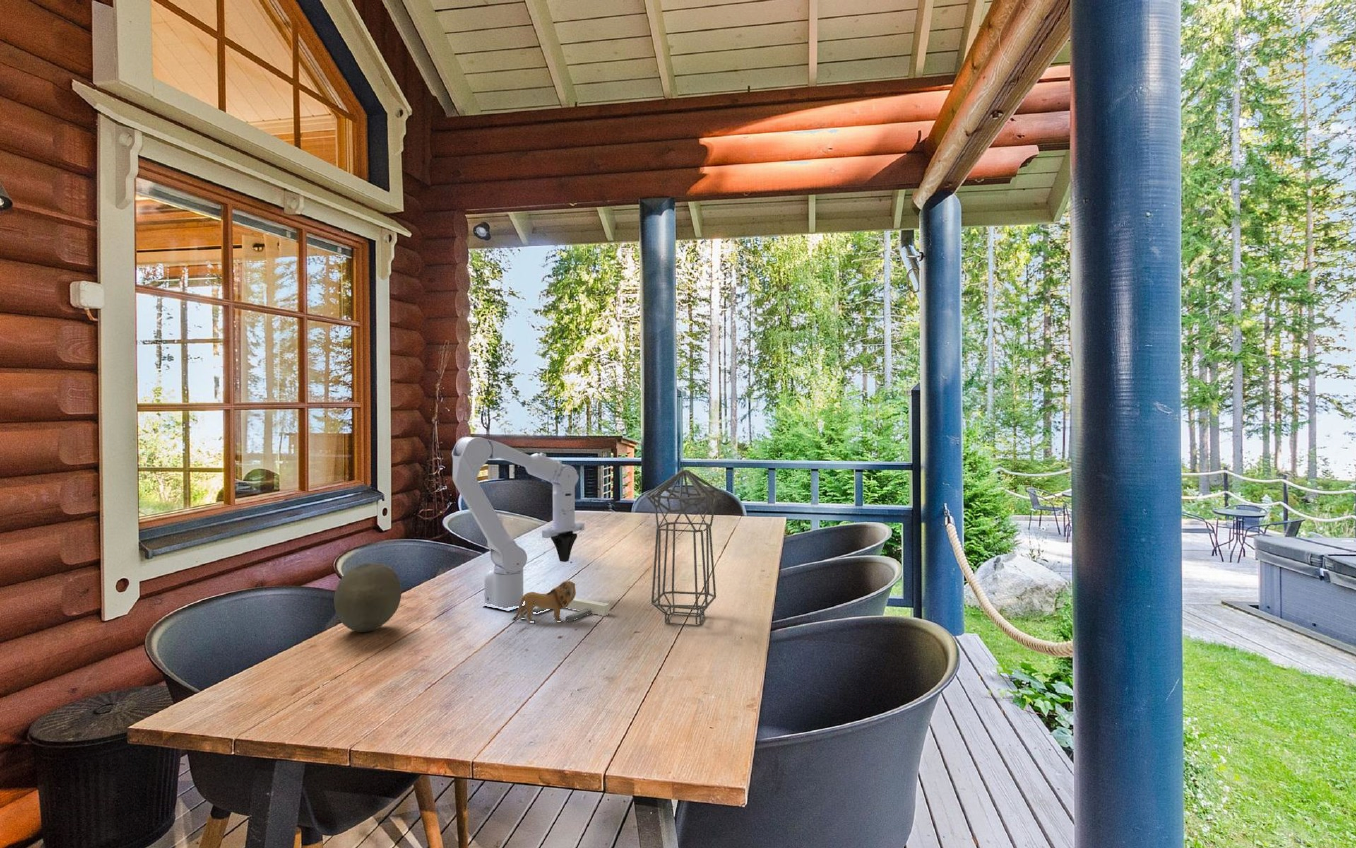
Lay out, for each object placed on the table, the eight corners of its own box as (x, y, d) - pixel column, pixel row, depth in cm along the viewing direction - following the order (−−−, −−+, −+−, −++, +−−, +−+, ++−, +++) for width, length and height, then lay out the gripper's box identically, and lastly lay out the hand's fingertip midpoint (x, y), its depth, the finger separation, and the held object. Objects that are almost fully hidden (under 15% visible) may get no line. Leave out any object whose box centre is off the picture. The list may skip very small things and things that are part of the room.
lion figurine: (575, 615, 159) (574, 577, 159) (576, 621, 154) (576, 583, 154) (511, 619, 156) (511, 581, 156) (511, 626, 151) (511, 587, 151)
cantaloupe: (318, 638, 143) (317, 569, 143) (366, 619, 157) (366, 556, 157) (371, 644, 139) (371, 573, 139) (417, 624, 152) (416, 559, 152)
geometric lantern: (643, 628, 149) (642, 472, 149) (661, 608, 165) (660, 467, 164) (712, 633, 146) (711, 473, 145) (724, 612, 161) (723, 467, 161)
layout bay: (520, 611, 162) (520, 601, 162) (547, 602, 170) (547, 592, 170) (584, 624, 152) (583, 613, 152) (609, 614, 160) (609, 603, 160)
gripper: (556, 514, 167) (556, 568, 167) (593, 507, 180) (593, 557, 180) (535, 512, 171) (536, 565, 171) (573, 506, 183) (573, 555, 184)
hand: (564, 561), depth 176 cm, fingers closed
